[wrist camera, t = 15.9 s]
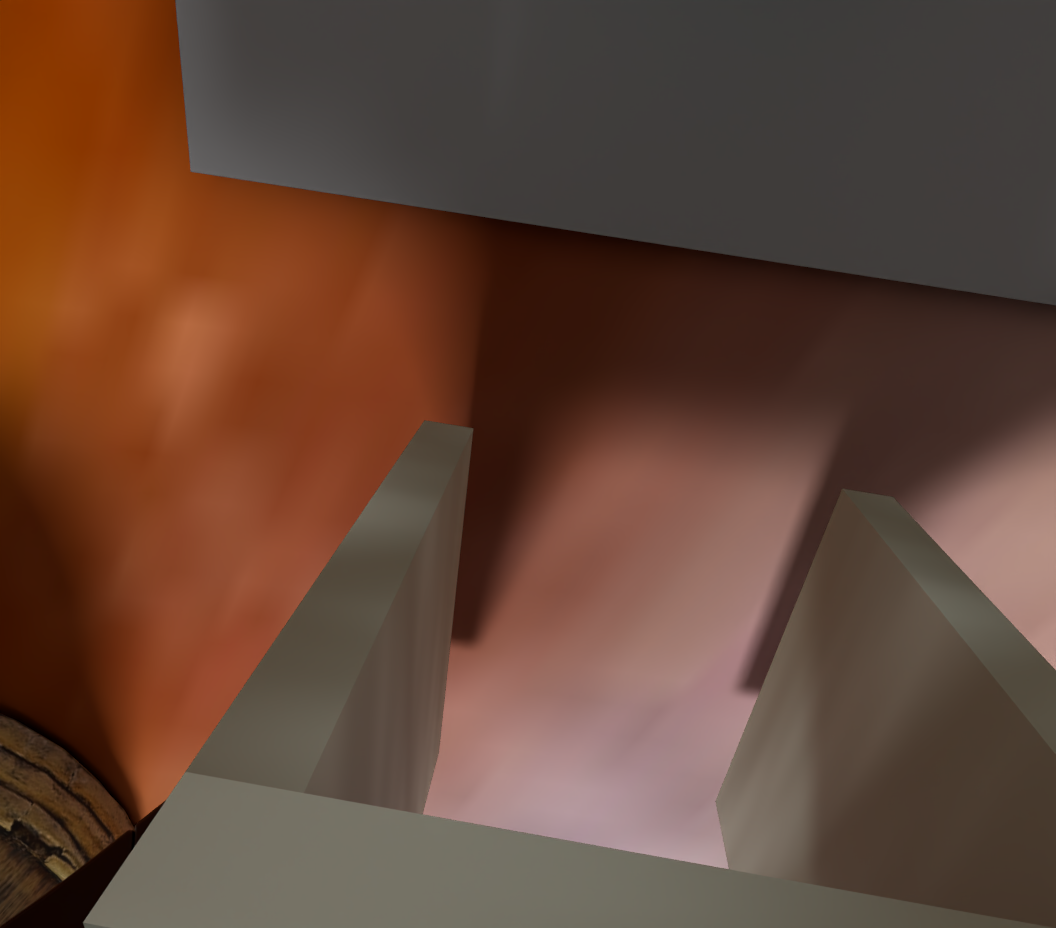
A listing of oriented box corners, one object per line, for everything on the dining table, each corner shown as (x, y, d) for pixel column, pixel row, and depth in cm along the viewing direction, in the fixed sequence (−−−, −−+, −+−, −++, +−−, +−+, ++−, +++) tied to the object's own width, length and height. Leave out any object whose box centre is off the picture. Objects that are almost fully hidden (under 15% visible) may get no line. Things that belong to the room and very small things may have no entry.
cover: (892, 496, 9) (1546, 1194, 3) (753, 808, 11) (925, 1478, 6) (424, 420, 9) (82, 922, 3) (401, 746, 12) (208, 1332, 6)
